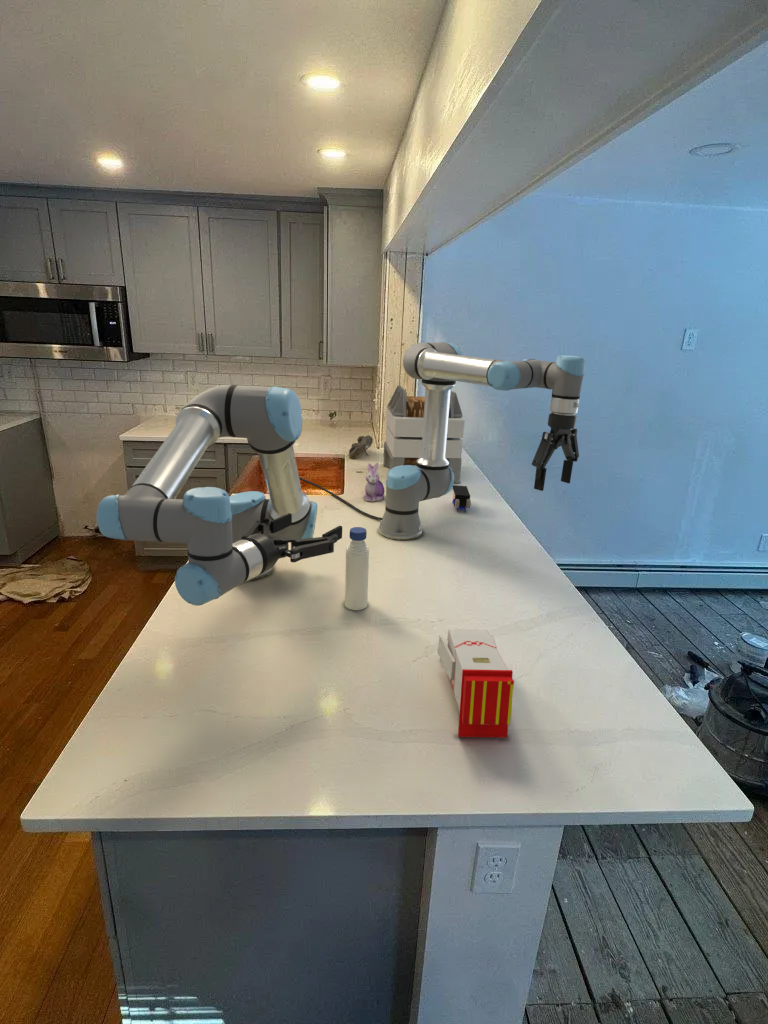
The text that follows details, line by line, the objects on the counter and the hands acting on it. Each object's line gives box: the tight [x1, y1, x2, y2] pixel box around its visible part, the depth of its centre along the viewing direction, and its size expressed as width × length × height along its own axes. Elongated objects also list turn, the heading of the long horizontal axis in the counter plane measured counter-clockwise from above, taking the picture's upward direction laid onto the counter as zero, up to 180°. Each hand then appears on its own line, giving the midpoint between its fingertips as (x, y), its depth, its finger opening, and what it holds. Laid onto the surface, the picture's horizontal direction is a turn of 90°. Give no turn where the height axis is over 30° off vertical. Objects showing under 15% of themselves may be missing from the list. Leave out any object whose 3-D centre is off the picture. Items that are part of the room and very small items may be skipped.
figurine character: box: [451, 484, 472, 513], centre depth 228 cm, size 7×8×15 cm
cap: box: [349, 526, 367, 541], centre depth 144 cm, size 4×4×2 cm
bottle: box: [344, 539, 370, 611], centre depth 148 cm, size 6×6×21 cm
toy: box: [437, 628, 515, 738], centre depth 117 cm, size 12×13×30 cm
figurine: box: [364, 462, 385, 502], centre depth 233 cm, size 9×10×15 cm
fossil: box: [348, 435, 374, 460], centre depth 302 cm, size 22×10×15 cm
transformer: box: [383, 384, 465, 484], centre depth 268 cm, size 34×33×41 cm
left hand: (315, 525), depth 126 cm, fingers open, 13 cm apart
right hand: (552, 485), depth 166 cm, fingers open, 13 cm apart
